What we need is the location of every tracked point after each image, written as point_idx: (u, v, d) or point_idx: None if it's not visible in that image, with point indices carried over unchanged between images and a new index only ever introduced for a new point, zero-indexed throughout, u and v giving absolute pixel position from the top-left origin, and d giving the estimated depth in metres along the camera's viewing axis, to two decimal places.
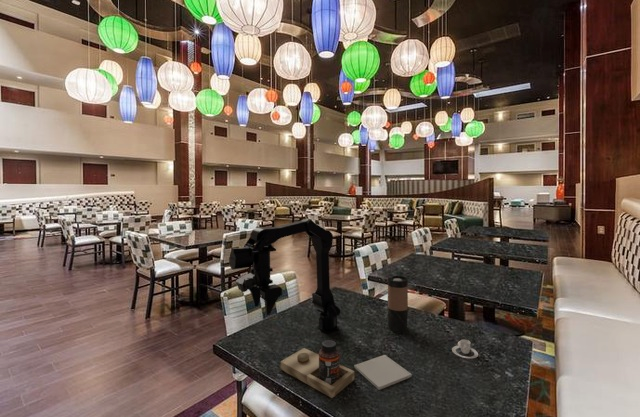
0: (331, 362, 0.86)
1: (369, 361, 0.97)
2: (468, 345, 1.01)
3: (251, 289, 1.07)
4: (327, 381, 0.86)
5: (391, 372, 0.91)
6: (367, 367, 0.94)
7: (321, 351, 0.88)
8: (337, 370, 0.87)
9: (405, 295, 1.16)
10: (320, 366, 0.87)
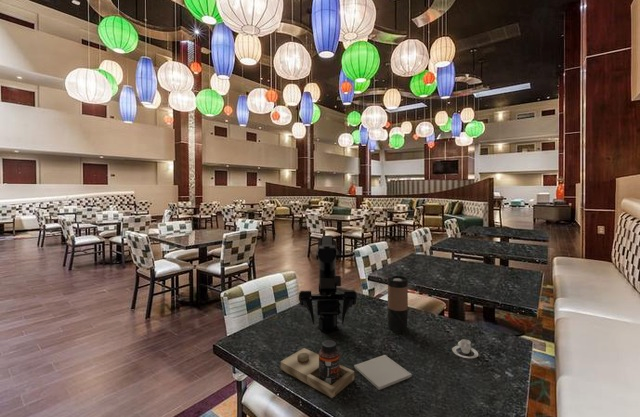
0: (331, 362, 0.86)
1: (369, 361, 0.97)
2: (468, 345, 1.01)
3: None
4: (327, 381, 0.86)
5: (391, 372, 0.91)
6: (367, 367, 0.94)
7: (321, 351, 0.88)
8: (337, 370, 0.87)
9: (405, 295, 1.16)
10: (320, 366, 0.87)
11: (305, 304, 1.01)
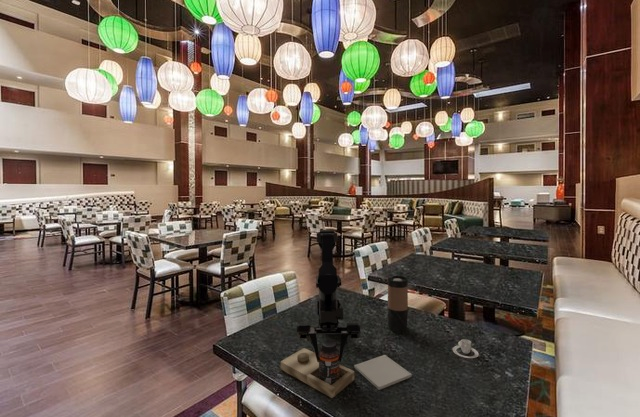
0: (331, 362, 0.86)
1: (369, 361, 0.97)
2: (469, 345, 1.01)
3: (316, 337, 0.90)
4: (327, 381, 0.86)
5: (391, 372, 0.91)
6: (367, 367, 0.94)
7: (321, 351, 0.88)
8: (337, 370, 0.87)
9: (405, 295, 1.16)
10: (320, 366, 0.87)
11: (309, 338, 0.92)
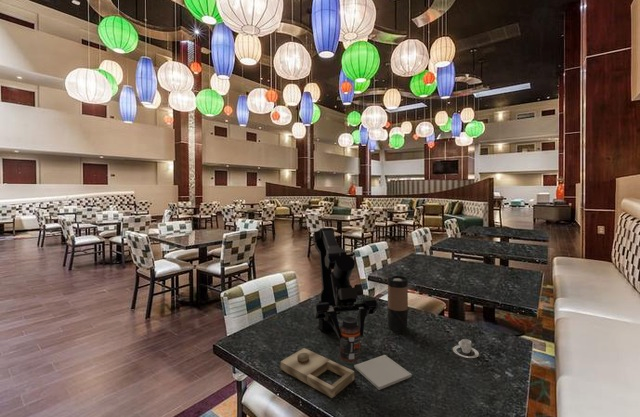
0: (354, 338, 0.86)
1: (369, 361, 0.97)
2: (469, 345, 1.01)
3: None
4: (350, 357, 0.86)
5: (391, 372, 0.91)
6: (367, 367, 0.94)
7: (343, 328, 0.87)
8: (359, 345, 0.87)
9: (405, 295, 1.16)
10: (342, 343, 0.87)
11: (327, 317, 0.91)
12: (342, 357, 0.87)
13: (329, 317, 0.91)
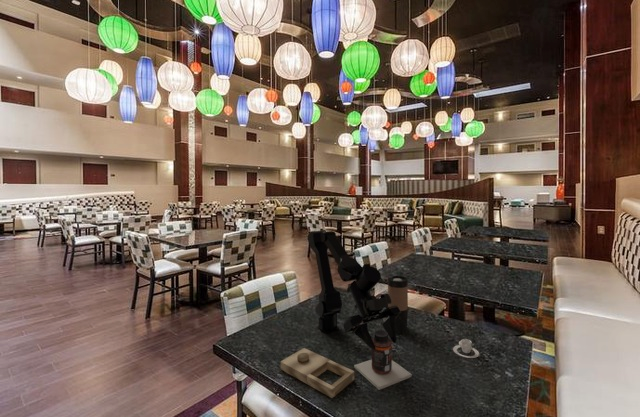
0: (389, 350, 0.90)
1: (369, 361, 0.97)
2: (469, 345, 1.02)
3: None
4: (386, 369, 0.90)
5: (391, 372, 0.91)
6: (367, 367, 0.94)
7: (376, 342, 0.90)
8: None
9: (405, 295, 1.16)
10: (378, 357, 0.90)
11: (356, 330, 0.92)
12: (377, 370, 0.90)
13: (358, 330, 0.92)
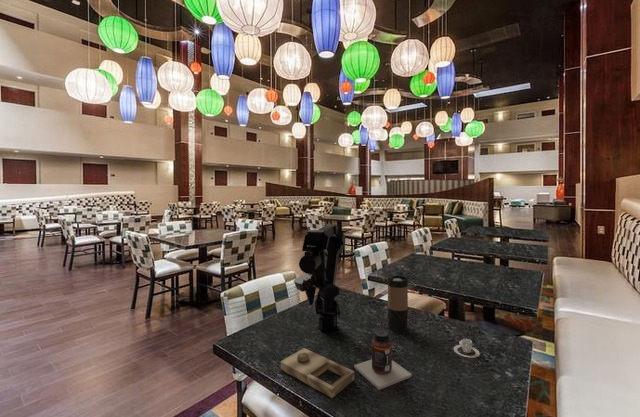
0: (389, 350, 0.90)
1: (369, 361, 0.97)
2: (469, 344, 1.02)
3: (306, 288, 1.11)
4: (386, 369, 0.90)
5: (391, 372, 0.91)
6: (367, 367, 0.94)
7: (377, 342, 0.91)
8: (391, 356, 0.92)
9: (405, 295, 1.16)
10: (378, 357, 0.90)
11: None
12: (378, 370, 0.90)
13: None
